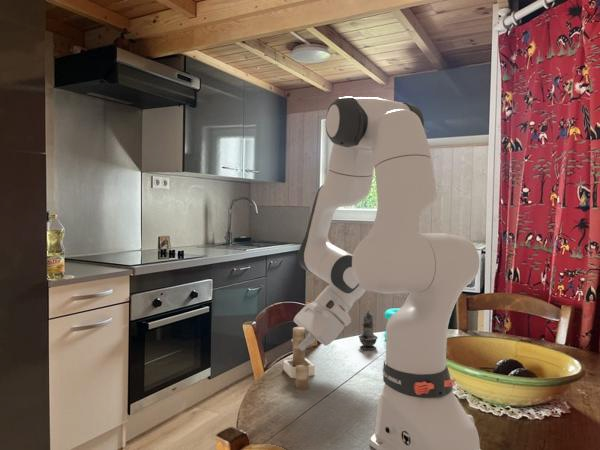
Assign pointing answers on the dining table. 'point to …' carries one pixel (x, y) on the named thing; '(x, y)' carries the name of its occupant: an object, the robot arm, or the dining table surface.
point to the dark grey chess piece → (368, 334)
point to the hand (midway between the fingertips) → (296, 345)
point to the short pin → (302, 377)
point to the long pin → (297, 352)
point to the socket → (292, 370)
